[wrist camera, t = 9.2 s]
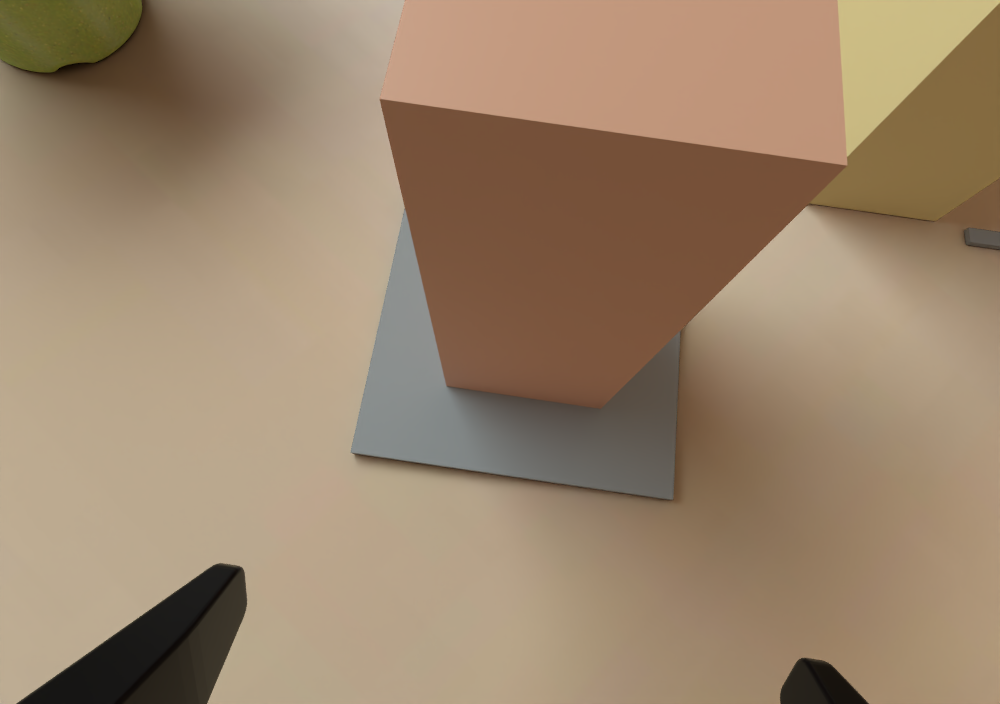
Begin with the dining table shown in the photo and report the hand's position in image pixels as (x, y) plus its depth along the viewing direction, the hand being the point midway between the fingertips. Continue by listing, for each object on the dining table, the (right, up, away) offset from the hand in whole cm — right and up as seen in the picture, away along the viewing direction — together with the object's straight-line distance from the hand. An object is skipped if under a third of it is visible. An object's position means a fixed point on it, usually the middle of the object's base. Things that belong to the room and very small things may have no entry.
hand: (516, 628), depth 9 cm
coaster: (+1, +5, +10) cm, 11 cm away
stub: (+1, +5, +10) cm, 11 cm away
